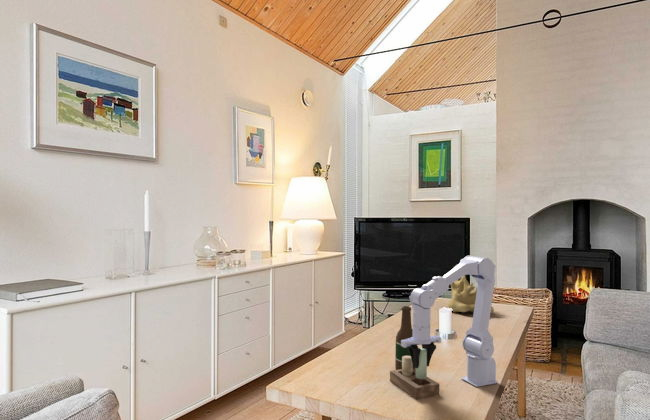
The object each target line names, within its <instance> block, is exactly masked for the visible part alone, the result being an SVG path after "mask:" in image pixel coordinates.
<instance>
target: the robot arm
mask: <svg viewBox="0 0 650 420" xmlns="http://www.w3.org/2000/svg"><path fill="white" fill-rule="evenodd" d="M495 270H496V264H495V263H494V262H493V260H492V259H490V258H489V257H479V256H475V255H470V254H469V255H466V256H465V257H464V258H461V259H460V261H459V263H458V264H456V265H455V266H453V268H452V269H451V270H449V271H448V272H447V273H445V274H444V275H443V276H441V275H438V276H433V277H432V279H431V280H430V281H428V282H427V283H425V284H423V285H422V286H421V287H417V288H415V289H413V290H411V293H410V295H409V296H408V297H409V303H410V304H411V306H412V307H411V309H412V329H413V337H411V338H408V339H405V340H401V346H402V347H404V348H406V347H407V349H408V351H409V353H410V356H411V359H412V363H413V367H415V368H418V367H419V355H420V351H421V349H420V348H423V349H426V350H427V367H429V366H430V363H431V359H432V356H433V354H434V352H435V351H436V349H437V345H436V344H441V343H442V337H441V336H439V335H431V310H432V309H431V307H433V306H434V304H435V302H436V300H437V299H438V298H439V297H441V296H442V295H444V294H445V293H447V291H448V290H449V289H450V286H451V284H452V283H453V282H455V281H457V280H458V281H459V280H460V279H461V278H462V277H463V276H465V277H466V276H467V275H469V276H471V277H472V278H473V279H474V281H476V283H477V286H476V288H477V294H476V301H475V308H474V312H473V315H472V316H473V317H472V323H471V326H470V328H468V329H467V330H466V331H465V336H464V337H463V340H462V348H463V350H464V351H465V354H466V376H462V377H461V380H463V381H465V382H467V383H469V384H470V385H472V386H474V387H476V388H477V387H478V388H479V387H483V386H488V385H494V384H498V381H497V380H496V379H497V377H496V375H497V374H496V372H497V370H496V369H497V365H496V361H495V358H494V357H493V354H494V352H495V347H494V337H493V335H492V334H491V333H490V330H489V325H490V318H491V313H492V312H491V306H492V305H493V304H492V302H493V296H494V290H495V281H496V279H495ZM419 346H421V347H419Z"/></svg>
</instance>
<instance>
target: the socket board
mask: <svg viewBox="0 0 650 420" xmlns="http://www.w3.org/2000/svg"><path fill="white" fill-rule="evenodd" d="M415 376H416V370H415V369H413V372H412V376H406V377H405V376H403V375H402V369H399V370H396V369H394V370H389V382H391V383H392V384H393V385H395V386H397V387H398V388H400V389H401V390H402V391H404V392H405V393H406V394H408V395H409V396H411V397H413V398H414V399H416V400H419V399H423V398H424V399H425V398H429V397H434V396H440V383H438V382H437V381H435V380H434V379H432V378H430V377H428V376H427V378H426V379H418V378H416V377H415Z"/></svg>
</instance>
